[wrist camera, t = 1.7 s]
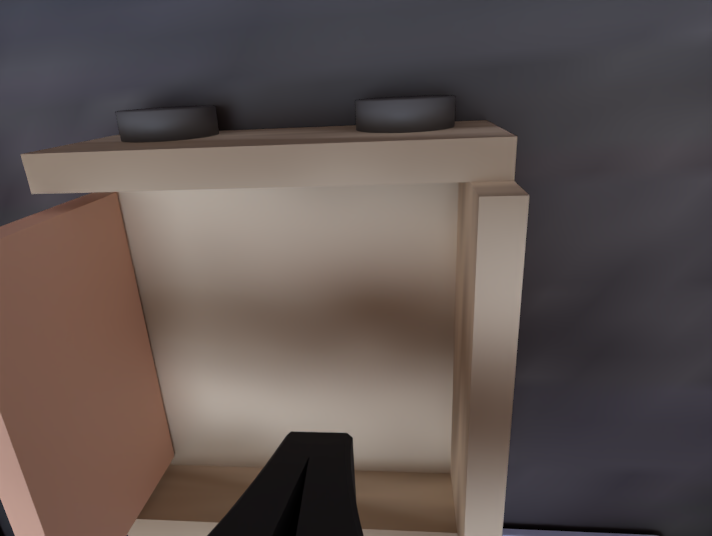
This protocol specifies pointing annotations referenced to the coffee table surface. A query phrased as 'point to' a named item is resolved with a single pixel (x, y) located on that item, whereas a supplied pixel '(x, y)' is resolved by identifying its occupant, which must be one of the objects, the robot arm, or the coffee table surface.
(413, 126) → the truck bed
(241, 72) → the coffee table surface
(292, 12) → the coffee table surface
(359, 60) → the coffee table surface
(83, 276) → the panel
